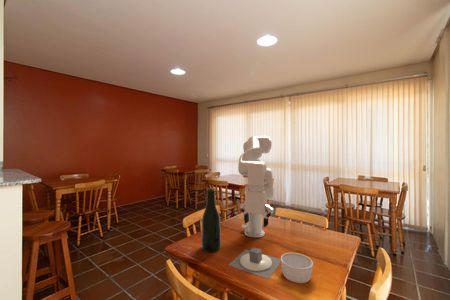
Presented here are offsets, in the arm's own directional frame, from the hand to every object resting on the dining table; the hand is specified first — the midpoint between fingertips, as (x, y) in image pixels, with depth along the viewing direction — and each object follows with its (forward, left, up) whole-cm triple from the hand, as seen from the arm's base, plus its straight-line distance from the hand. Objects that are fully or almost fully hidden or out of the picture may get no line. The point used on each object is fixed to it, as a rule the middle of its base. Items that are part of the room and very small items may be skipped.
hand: (255, 224), depth 102 cm
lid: (0, 0, -18) cm, 18 cm away
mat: (0, 0, -19) cm, 19 cm away
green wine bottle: (-27, +1, -19) cm, 33 cm away
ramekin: (+19, 0, -19) cm, 27 cm away
